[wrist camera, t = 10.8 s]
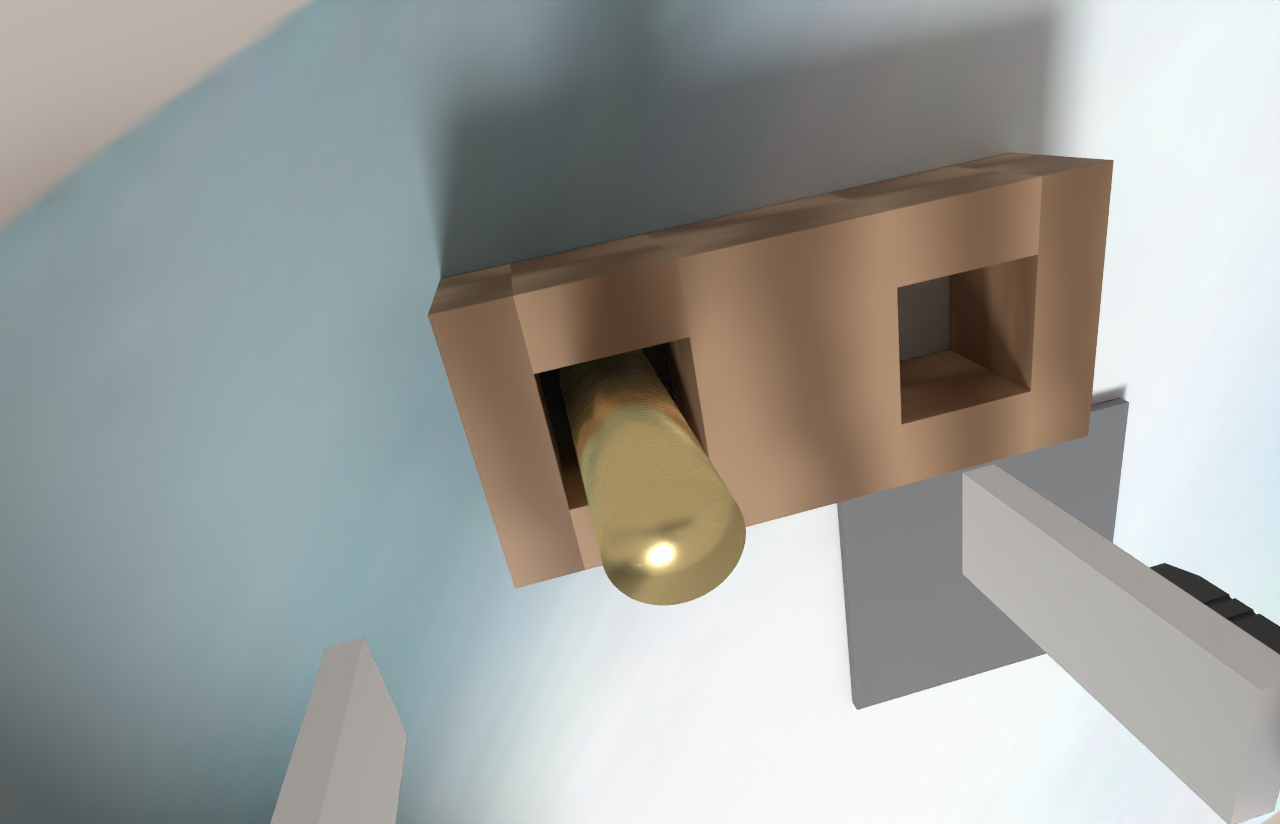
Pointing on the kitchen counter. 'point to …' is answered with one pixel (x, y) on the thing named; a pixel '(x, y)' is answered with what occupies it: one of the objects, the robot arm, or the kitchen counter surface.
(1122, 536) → the kitchen counter surface
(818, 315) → the hole block
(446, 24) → the kitchen counter surface
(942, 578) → the mat
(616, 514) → the peg
